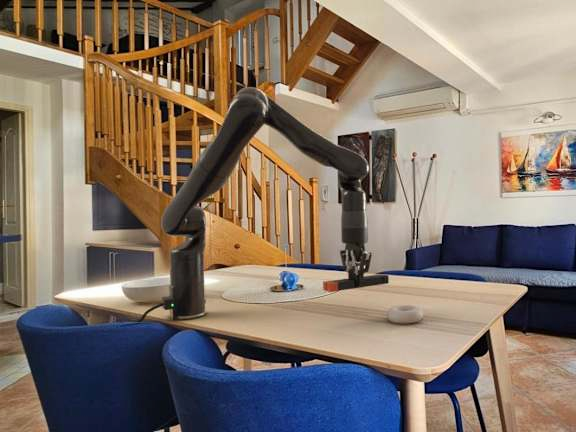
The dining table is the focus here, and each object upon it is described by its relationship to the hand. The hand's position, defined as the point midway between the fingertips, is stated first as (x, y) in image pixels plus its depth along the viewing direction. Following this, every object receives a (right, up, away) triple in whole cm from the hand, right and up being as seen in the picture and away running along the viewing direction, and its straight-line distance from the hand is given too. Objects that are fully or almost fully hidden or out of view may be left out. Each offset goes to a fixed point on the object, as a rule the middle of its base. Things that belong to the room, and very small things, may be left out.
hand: (356, 286), depth 119 cm
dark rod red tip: (0, 0, 0) cm, 1 cm away
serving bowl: (-73, -10, +29) cm, 79 cm away
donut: (+14, -9, -5) cm, 17 cm away
